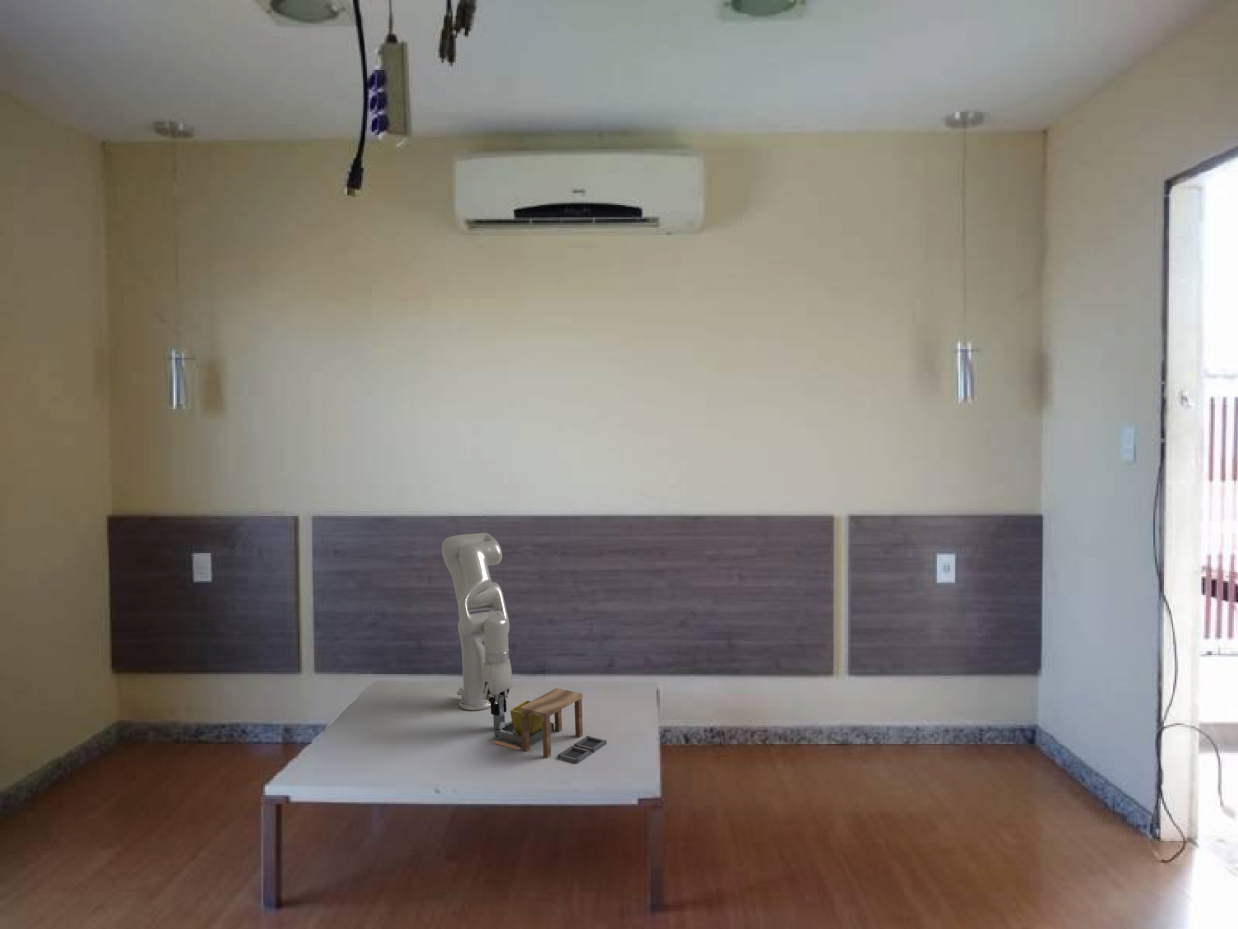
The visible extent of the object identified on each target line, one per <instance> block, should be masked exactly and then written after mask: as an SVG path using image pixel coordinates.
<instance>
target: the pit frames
mask: <svg viewBox="0 0 1238 929" xmlns="http://www.w3.org/2000/svg"><path fill="white" fill-rule="evenodd" d="M605 745H607V740H606V739H602V738H599V737H594V736H590V735H586V736H585V737H583V738H581V739H580V740H578V741H577V742H576V743H574V744H573V745H571V746H569V747H567V748H566V749H565V750H563V751H562V752H560V753H559V754H557V759H560V760H563V761H567V762H570V763H573V764H577V765H578V764H579V763H581V762H582V761H583V760H586V758H588V757H590V756H591V755H592V753H595V752H597V751H598V750H600V749H601V748H603V747H604V746H605Z"/></svg>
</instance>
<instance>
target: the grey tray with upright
mask: <svg viewBox="0 0 1238 929" xmlns="http://www.w3.org/2000/svg"><path fill="white" fill-rule="evenodd" d="M493 698H494V696H493ZM498 703H499V706H500V715H499V716H496V715H492V716H493V717H492V720H493V729H494V733H495V734H494V736H495V739H499V740H501V741H506V742H510V743H513V744H516V745H520V746H522V735H520V734H517V732H516V733H515V732H513V731H514V730H515V729H514V727H513V723H512V720H511V721H509V722H506V720H505V718H506V716H505V714H506V712H504V696H503V695H499V694H498ZM554 727H555V722H551V721H550V734H551V733H554V732H555V729H554ZM541 739H542V740H543V730H542V728H540V729H539V730H537V731H535V732H534V733H532V734H530V735H529V742H530V746H531V745H533V744H534V743H536V742H538V741H540V740H541Z"/></svg>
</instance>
